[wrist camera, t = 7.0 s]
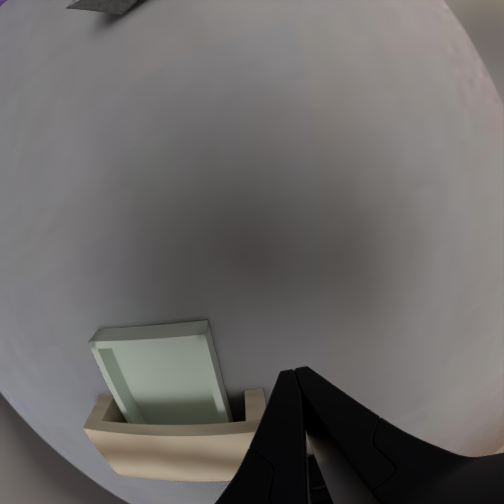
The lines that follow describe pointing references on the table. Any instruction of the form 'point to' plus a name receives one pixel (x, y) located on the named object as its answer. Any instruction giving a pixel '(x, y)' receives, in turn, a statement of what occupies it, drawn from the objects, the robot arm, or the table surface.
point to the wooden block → (173, 443)
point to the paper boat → (102, 5)
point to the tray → (163, 373)
